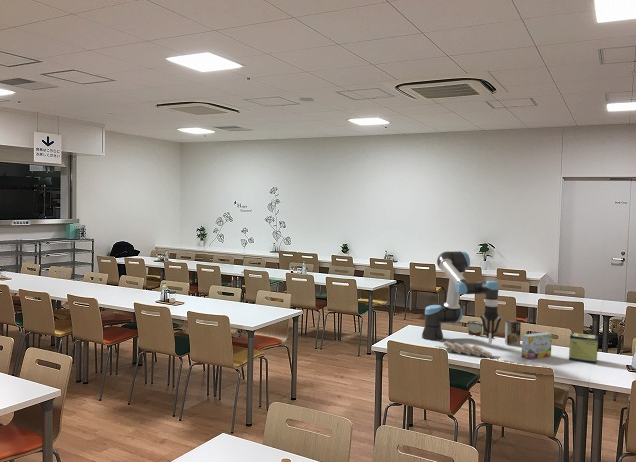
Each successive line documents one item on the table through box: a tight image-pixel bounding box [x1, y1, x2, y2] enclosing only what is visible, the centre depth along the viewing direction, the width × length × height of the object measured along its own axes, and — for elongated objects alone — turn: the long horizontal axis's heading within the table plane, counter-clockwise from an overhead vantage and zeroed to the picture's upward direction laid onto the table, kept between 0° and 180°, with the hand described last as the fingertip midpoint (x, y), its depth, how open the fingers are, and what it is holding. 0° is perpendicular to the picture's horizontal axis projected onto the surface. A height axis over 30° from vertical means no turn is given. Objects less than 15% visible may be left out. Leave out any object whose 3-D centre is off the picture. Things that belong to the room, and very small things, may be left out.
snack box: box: [521, 331, 553, 360], centre depth 335 cm, size 21×6×15 cm, turn 117°
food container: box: [466, 320, 483, 338], centre depth 395 cm, size 12×6×10 cm, turn 47°
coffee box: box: [504, 320, 521, 346], centre depth 368 cm, size 9×6×16 cm
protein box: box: [568, 332, 599, 365], centre depth 331 cm, size 10×16×16 cm
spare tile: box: [434, 345, 454, 353], centre depth 345 cm, size 2×5×12 cm
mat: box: [447, 351, 501, 361], centre depth 336 cm, size 31×11×1 cm, turn 61°
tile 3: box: [452, 341, 472, 355], centre depth 339 cm, size 2×5×12 cm
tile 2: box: [462, 343, 482, 357], centre depth 336 cm, size 2×5×12 cm
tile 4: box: [443, 340, 462, 354], centre depth 342 cm, size 2×5×12 cm
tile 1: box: [471, 344, 493, 358], centre depth 333 cm, size 2×5×12 cm
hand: (490, 343), depth 331 cm, fingers closed
